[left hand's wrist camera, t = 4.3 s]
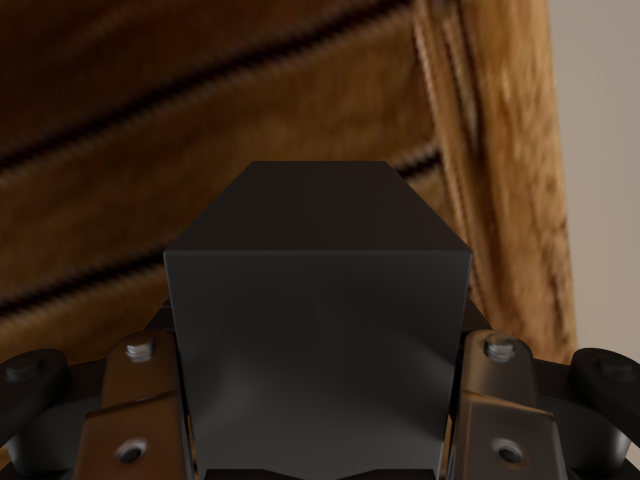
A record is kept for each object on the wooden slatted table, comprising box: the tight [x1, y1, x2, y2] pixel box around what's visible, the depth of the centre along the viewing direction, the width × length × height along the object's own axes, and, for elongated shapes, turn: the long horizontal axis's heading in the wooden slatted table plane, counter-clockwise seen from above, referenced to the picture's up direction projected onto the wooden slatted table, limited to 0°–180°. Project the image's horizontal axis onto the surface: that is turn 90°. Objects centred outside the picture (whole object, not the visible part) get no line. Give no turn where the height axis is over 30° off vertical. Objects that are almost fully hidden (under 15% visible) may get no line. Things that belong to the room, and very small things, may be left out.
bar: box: [163, 161, 473, 480], centre depth 15 cm, size 23×5×9 cm, turn 0°
